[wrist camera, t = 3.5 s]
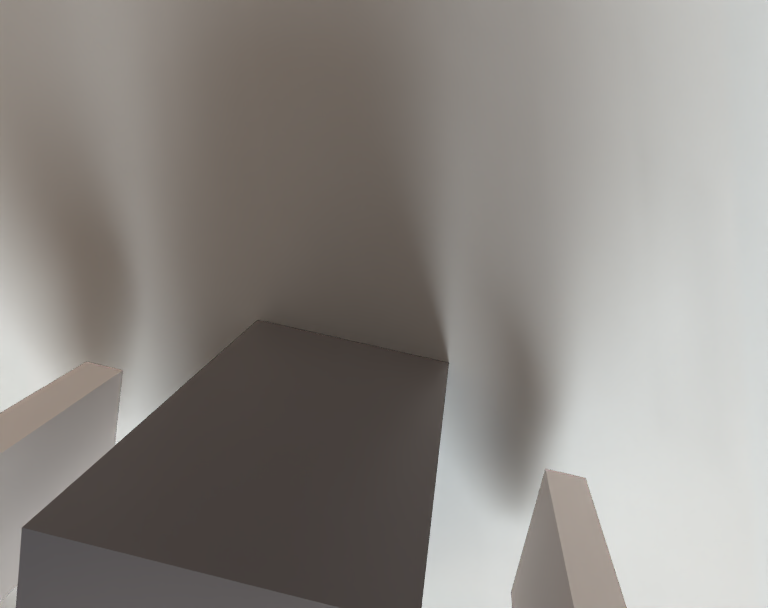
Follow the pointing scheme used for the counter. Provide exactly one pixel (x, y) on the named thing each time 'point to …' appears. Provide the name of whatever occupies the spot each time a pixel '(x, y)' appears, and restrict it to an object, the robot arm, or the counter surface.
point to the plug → (256, 487)
